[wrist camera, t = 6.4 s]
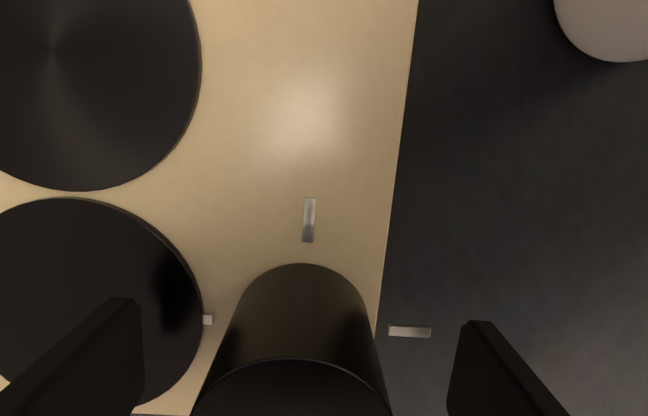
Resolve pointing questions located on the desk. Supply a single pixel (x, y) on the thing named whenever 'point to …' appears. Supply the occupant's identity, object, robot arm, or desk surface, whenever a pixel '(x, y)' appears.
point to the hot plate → (276, 157)
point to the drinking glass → (606, 27)
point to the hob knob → (296, 351)
